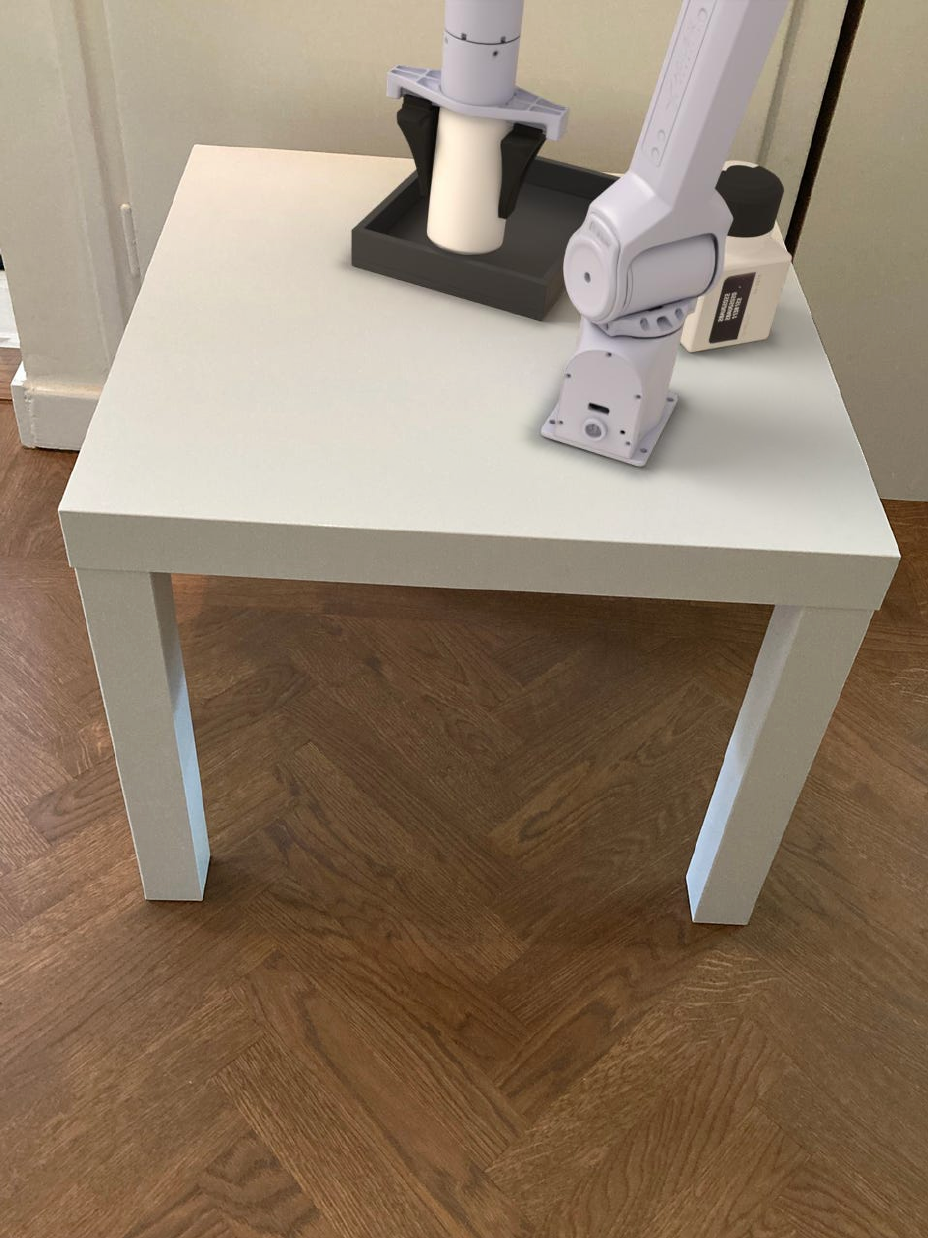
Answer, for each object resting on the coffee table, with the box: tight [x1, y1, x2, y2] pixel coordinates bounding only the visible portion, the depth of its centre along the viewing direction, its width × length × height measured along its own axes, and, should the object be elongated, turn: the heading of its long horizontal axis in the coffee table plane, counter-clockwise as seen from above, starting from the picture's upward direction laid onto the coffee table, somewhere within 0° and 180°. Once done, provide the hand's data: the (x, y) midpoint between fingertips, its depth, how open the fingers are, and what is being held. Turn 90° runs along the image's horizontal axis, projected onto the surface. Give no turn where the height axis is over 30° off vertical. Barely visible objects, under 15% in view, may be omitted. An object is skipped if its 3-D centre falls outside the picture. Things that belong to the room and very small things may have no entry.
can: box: [427, 106, 513, 256], centre depth 94 cm, size 6×6×12 cm
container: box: [680, 160, 793, 353], centre depth 92 cm, size 8×8×13 cm
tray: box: [350, 155, 622, 322], centre depth 103 cm, size 22×18×3 cm
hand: (468, 202), depth 95 cm, fingers closed on can, 6 cm apart
